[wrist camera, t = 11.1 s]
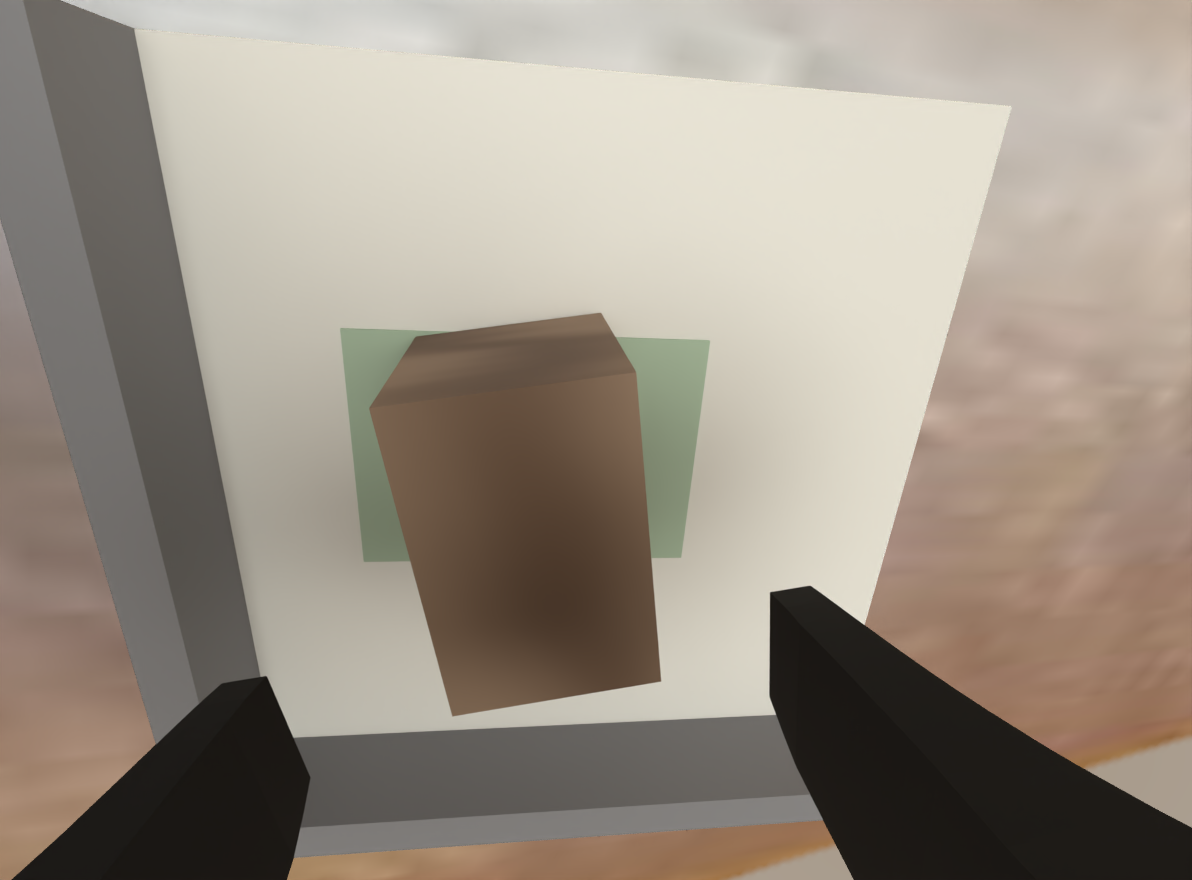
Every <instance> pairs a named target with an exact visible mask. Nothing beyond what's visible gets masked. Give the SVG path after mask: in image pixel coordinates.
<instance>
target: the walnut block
mask: <svg viewBox="0 0 1192 880" xmlns="http://www.w3.org/2000/svg"><path fill="white" fill-rule="evenodd" d="M369 411H370V414H371V418H372V422H373V425H374V429H375V433H376V436H377V440H378V444H379V448H380V451H381V455H382V459H383V462H384V466H385V470H386V473H387V477H388V481H389V485H390V488H391V492H392V496H393V499H394V503H395V507H396V510H397V514H398V518H399V521H400V525H401V529H402V533H403V536H404V540H405V544H406V547H407V551H408V555H409V558H410V562H411V566H412V569H413V573H414V577H415V581H416V584H417V588H418V592H419V595H420V599H421V603H422V606H423V610H424V614H425V618H426V621H427V625H428V629H429V632H430V636H431V640H432V643H433V647H434V651H435V654H436V658H437V662H438V666H439V669H440V673H441V677H442V680H443V684H444V688H445V691H446V695H447V699H448V703H449V706H450V710H451V714H452V717H453V716H458V715H464V714H470V713H476V712H482V711H488V710H494V709H500V708H506V707H512V706H518V705H524V704H530V703H536V702H542V701H548V700H554V699H560V698H566V697H572V696H578V695H584V694H590V693H596V692H602V691H608V690H614V689H620V688H626V687H632V686H638V685H644V684H650V683H656V682H661V671H660V659H659V646H658V634H657V622H656V609H655V597H654V585H653V572H652V560H651V548H650V535H649V523H648V511H647V498H646V486H645V473H644V461H643V449H642V436H641V424H640V412H639V399H638V387H637V375H636V371H635V369H634V367H633V366H632V364H631V362H630V361H629V359H628V357H627V356H626V354H625V352H624V351H623V349H622V347H621V346H620V344H619V342H618V340H617V339H616V337H615V335H614V334H613V332H612V330H611V329H610V327H609V325H608V324H607V322H606V320H605V319H604V317H603V315H602V314H601V313H595V314H588V315H580V316H572V317H564V318H556V319H549V320H541V321H533V322H525V323H518V324H510V325H502V326H494V327H486V328H479V329H471V330H463V331H455V332H448V333H440V334H432V335H424V336H416V337H415V338H414V340H413V341H412V343H411V345H410V346H409V348H408V349H407V351H406V352H405V354H404V355H403V357H402V358H401V360H400V361H399V363H398V364H397V366H396V368H395V369H394V371H393V372H392V374H391V375H390V377H389V378H388V380H387V381H386V383H385V384H384V386H383V387H382V389H381V391H380V392H379V394H378V395H377V397H376V398H375V400H374V401H373V403H372V404H371V406H370V407H369Z"/></svg>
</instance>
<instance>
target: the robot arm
mask: <svg viewBox="0 0 1192 880" xmlns="http://www.w3.org/2000/svg"><path fill="white" fill-rule="evenodd" d="M769 697H770V700H771V702H772V705H773V708H774V711H775V713H776V716H777V719H778V721H779V724H780V727H781V729H782V732H783V735H784V737H785V740H786V742H787V745H788V747H789V750H790V753H791V755H792V758H793V760H794V763H795V765H796V767H797V769H798V771H799V773H800V775H801V777H802V779H803V781H804V783H805V785H806V787H807V789H808V791H809V793H810V795H811V797H812V799H813V801H814V803H815V805H816V807H817V809H818V811H819V813H820V815H821V817H822V819H823V821H824V823H825V825H826V827H827V829H828V830H829V832H830V834H831V836H832V838H833V840H834V842H835V844H836V846H837V848H838V850H839V852H840V854H841V855H842V858H843V860H844V861H845V864H846V865H847V867H848V869H849V871H850V873H851V875H852V877H853V879H854V880H1192V828H1191V827H1189V826H1187V825H1185V824H1183V823H1182V822H1180V821H1178V820H1176V819H1174V818H1172V817H1170V816H1168V815H1166V814H1165V813H1163V812H1161V811H1159V810H1157V809H1155V808H1153V807H1151V806H1150V805H1148V804H1146V803H1144V802H1142V801H1141V800H1139V799H1137V798H1135V797H1133V796H1132V795H1130V794H1128V793H1126V792H1124V791H1122V790H1121V789H1119V788H1117V787H1115V786H1114V785H1112V784H1110V783H1108V782H1106V781H1105V780H1103V779H1101V778H1099V777H1097V776H1096V775H1094V774H1092V773H1090V772H1089V771H1087V770H1085V769H1083V768H1081V767H1080V766H1078V765H1076V764H1074V763H1073V762H1071V761H1069V760H1068V759H1066V758H1064V757H1062V756H1061V755H1059V754H1057V753H1056V752H1054V751H1052V750H1051V749H1049V748H1047V747H1046V746H1044V745H1042V744H1041V743H1039V742H1037V741H1036V740H1034V739H1033V738H1031V737H1029V736H1028V735H1026V734H1025V733H1023V732H1021V731H1020V730H1018V729H1017V728H1015V727H1013V726H1012V725H1010V724H1009V723H1007V722H1005V721H1004V720H1002V719H1001V718H999V717H997V716H996V715H994V714H993V713H991V712H989V711H988V710H986V709H985V708H983V707H982V706H980V705H979V704H977V703H976V702H974V701H973V700H971V699H969V698H968V697H966V696H965V695H963V694H962V693H960V692H959V691H957V690H956V689H954V688H953V687H951V686H950V685H948V684H947V683H945V682H944V681H943V680H941V679H940V678H938V677H937V676H935V675H934V674H932V673H931V672H929V671H928V670H927V669H925V668H924V667H922V666H921V665H919V664H918V663H916V662H915V661H914V660H912V659H911V658H909V657H908V656H907V655H905V654H904V653H902V652H901V651H900V650H898V649H897V648H895V647H894V646H893V645H891V644H890V643H888V642H887V641H886V640H884V639H883V638H882V637H880V636H879V635H877V634H876V633H875V632H873V631H872V630H871V629H869V628H868V627H866V626H865V625H864V624H862V623H861V622H860V621H858V620H857V619H856V618H854V617H853V616H851V615H850V614H849V613H847V612H846V611H845V610H843V609H842V608H841V607H839V606H838V605H837V604H835V603H834V602H833V601H831V600H830V599H828V598H827V597H826V596H824V595H823V594H822V593H820V592H819V591H817V590H816V589H815V588H813V587H812V586H804V587H798V588H792V589H786V590H780V591H774V592H770V666H769ZM310 778H311V777H310V775H309V773H308V770H307V768H306V766H305V763H304V761H303V759H302V756H301V754H300V752H299V749H298V747H297V745H296V742H295V740H294V738H293V736H292V733H291V731H290V729H289V726H288V724H287V722H286V719H285V717H284V715H283V712H282V710H281V708H280V705H279V703H278V701H277V698H276V696H275V694H274V691H273V689H272V687H271V684H270V682H269V680H268V678H267V676H263V677H257V678H251V679H245V680H238V681H232V682H226V683H222V684H221V685H219V686H218V687H217V688H216V689H215V690H214V691H213V692H211V693H210V694H209V695H208V696H207V697H206V698H205V699H204V700H202V701H201V702H200V703H199V704H198V705H197V706H196V707H195V708H194V709H193V710H192V711H191V712H190V713H188V714H187V715H186V716H185V717H184V718H183V719H182V720H181V721H180V722H179V723H178V724H177V725H176V726H175V727H174V728H173V729H172V730H171V731H170V732H168V733H167V734H166V735H165V736H164V737H163V738H162V739H161V740H160V741H159V742H158V743H157V744H156V745H155V746H154V747H153V748H152V749H151V750H150V751H149V752H148V753H147V754H146V755H145V756H143V757H142V758H141V759H140V760H139V761H138V762H137V763H136V764H135V765H134V766H133V767H132V768H131V769H130V770H129V771H128V772H127V773H126V774H125V775H124V776H123V777H122V778H121V779H119V780H118V781H117V782H116V783H115V784H114V785H113V786H112V787H111V788H110V789H109V790H108V791H107V792H106V793H105V794H104V795H103V796H102V797H101V798H99V799H98V800H97V801H96V802H95V803H94V804H93V805H92V806H91V807H90V808H89V809H88V810H87V811H86V812H85V813H84V814H83V815H82V816H81V817H80V818H78V819H77V820H76V821H75V822H74V823H73V824H72V825H71V826H70V827H69V828H68V829H67V830H66V831H65V832H64V833H63V834H62V835H60V836H59V837H58V838H57V839H56V840H55V841H54V842H53V843H52V844H51V845H49V846H48V847H47V848H46V849H45V850H44V851H43V852H42V853H41V854H40V855H38V856H37V857H36V858H35V859H34V860H33V861H32V862H31V863H30V864H28V865H27V866H26V867H25V868H24V869H23V870H22V871H21V872H20V873H18V874H17V875H16V876H15V877H14V878H13V879H12V880H287V877H288V874H289V871H290V868H291V865H292V862H293V858H294V854H295V850H296V846H297V841H298V837H299V832H300V828H301V824H302V819H303V814H304V809H305V804H306V799H307V794H308V789H309V783H310Z"/></svg>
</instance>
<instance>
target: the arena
mask: <svg viewBox="0 0 1192 880" xmlns="http://www.w3.org/2000/svg"><path fill="white" fill-rule="evenodd" d="M1011 108H1012V106H1004V105H992V104H981V103H970V102H958V101H947V100H936V99H924V98H913V97H902V96H890V95H879V94H868V93H857V92H845V91H834V90H823V89H811V88H800V87H789V86H777V85H766V84H755V83H744V82H732V81H721V80H710V79H698V78H687V77H676V76H664V75H653V74H642V73H630V72H619V71H608V70H597V69H585V68H574V67H563V66H551V65H540V64H529V63H517V62H506V61H495V60H483V59H472V58H461V57H450V56H438V55H427V54H416V53H404V52H393V51H382V50H370V49H359V48H348V47H337V46H325V45H314V44H303V43H291V42H280V41H269V40H257V39H246V38H235V37H223V36H212V35H201V34H190V33H178V32H167V31H156V30H144V29H134V28H131V27H128V26H126V25H123V24H121V23H118V22H115V21H113V20H110V19H108V18H105V17H102V16H100V15H97V14H95V13H92V12H89V11H87V10H84V9H81V8H79V7H76V6H74V5H71V4H68V3H66V2H63V1H61V0H0V220H1V223H2V226H3V230H4V233H5V236H6V240H7V243H8V246H9V250H10V253H11V257H12V260H13V263H14V267H15V270H16V273H17V277H18V280H19V284H20V287H21V290H22V294H23V297H24V300H25V304H26V307H27V311H28V314H29V317H30V321H31V324H32V327H33V331H34V334H35V338H36V341H37V344H38V348H39V351H40V354H41V358H42V361H43V365H44V368H45V371H46V375H47V378H48V381H49V385H50V388H51V392H52V395H53V398H54V402H55V405H56V408H57V412H58V415H59V419H60V422H61V425H62V429H63V432H64V435H65V439H66V442H67V446H68V449H69V452H70V456H71V459H72V462H73V466H74V469H75V473H76V476H77V479H78V483H79V486H80V489H81V493H82V496H83V500H84V503H85V506H86V510H87V513H88V516H89V520H90V523H91V527H92V530H93V533H94V537H95V540H96V543H97V547H98V550H99V554H100V557H101V560H102V564H103V567H104V570H105V574H106V577H107V581H108V584H109V587H110V591H111V594H112V597H113V601H114V604H115V608H116V611H117V614H118V618H119V621H120V624H121V628H122V631H123V635H124V638H125V641H126V645H127V648H128V651H129V655H130V658H131V662H132V665H133V668H134V672H135V675H136V678H137V682H138V685H139V689H140V692H141V695H142V699H143V702H144V705H145V709H146V712H147V716H148V719H149V722H150V726H151V729H152V732H153V736H154V739H155V743H156V744H157V743H158V742H159V741H160V740H161V739H162V738H163V737H164V736H165V735H166V734H167V733H168V732H170V731H171V730H172V729H173V728H174V727H175V726H176V725H177V724H178V723H179V722H180V721H181V720H182V719H183V718H184V717H185V716H186V715H187V714H188V713H190V712H191V711H192V710H193V709H194V708H195V707H196V706H197V705H198V704H199V703H200V702H201V701H202V700H204V699H205V698H206V697H207V696H208V695H209V694H210V693H211V692H213V691H214V690H215V689H216V688H217V687H218V686H219V685H221V684H222V683H226V682H232V681H238V680H245V679H251V678H257V677H263V676H267V678H268V680H269V682H270V684H271V687H272V689H273V691H274V694H275V696H276V698H277V701H278V703H279V705H280V708H281V710H282V712H283V715H284V717H285V719H286V722H287V724H288V726H289V729H290V731H291V733H292V736H293V738H294V740H295V742H296V745H297V747H298V749H299V752H300V754H301V756H302V759H303V761H304V763H305V766H306V768H307V770H308V773H309V775H310V777H311V778H310V783H309V789H308V794H307V799H306V804H305V809H304V814H303V819H302V824H301V828H300V832H299V837H298V841H297V846H296V850H295V854H294V858H297V857H311V856H325V855H339V854H353V853H368V852H382V851H396V850H410V849H424V848H438V847H452V846H466V845H480V844H494V843H508V842H523V841H537V840H551V839H565V838H579V837H593V836H607V835H621V834H635V833H649V832H663V831H678V830H692V829H706V828H720V827H734V826H748V825H762V824H776V823H790V822H804V821H819V820H823V819H822V817H821V815H820V813H819V811H818V809H817V807H816V805H815V803H814V801H813V799H812V797H811V795H810V793H809V791H808V789H807V787H806V785H805V783H804V781H803V779H802V777H801V775H800V773H799V771H798V769H797V767H796V765H795V763H794V760H793V758H792V755H791V753H790V750H789V747H788V745H787V742H786V740H785V737H784V735H783V732H782V729H781V727H780V724H779V721H778V719H777V716H776V713H775V711H774V708H773V705H772V702H771V700H770V697H769V666H770V592H774V591H780V590H786V589H792V588H798V587H804V586H812V587H813V588H815V589H816V590H817V591H819V592H820V593H822V594H823V595H824V596H826V597H827V598H828V599H830V600H831V601H833V602H834V603H835V604H837V605H838V606H839V607H841V608H842V609H843V610H845V611H846V612H847V613H849V614H850V615H851V616H853V617H854V618H856V619H857V620H858V621H860V622H861V623H862V624H864V625H865V621H866V618H867V614H868V611H869V607H870V604H871V600H872V597H873V593H874V590H875V586H876V583H877V579H878V576H879V572H880V569H881V565H882V562H883V558H884V555H885V551H886V548H887V544H888V540H889V537H890V533H891V530H892V526H893V523H894V519H895V516H896V512H897V509H898V505H899V502H900V498H901V495H902V491H903V488H904V484H905V481H906V477H907V474H908V470H909V467H910V463H911V460H912V456H913V453H914V449H915V445H916V442H917V438H918V435H919V431H920V428H921V424H922V421H923V417H924V414H925V410H926V407H927V403H928V400H929V396H930V393H931V389H932V386H933V382H934V379H935V375H936V372H937V368H938V365H939V361H940V357H941V354H942V350H943V347H944V343H945V340H946V336H947V333H948V329H949V326H950V322H951V319H952V315H953V312H954V308H955V305H956V301H957V298H958V294H959V291H960V287H961V284H962V280H963V277H964V273H965V269H966V266H967V262H968V259H969V255H970V252H971V248H972V245H973V241H974V238H975V234H976V231H977V227H978V224H979V220H980V217H981V213H982V210H983V206H984V203H985V199H986V196H987V192H988V189H989V185H990V181H991V178H992V174H993V171H994V167H995V164H996V160H997V157H998V153H999V150H1000V146H1001V143H1002V139H1003V136H1004V132H1005V129H1006V125H1007V122H1008V118H1009V115H1010V111H1011ZM595 313H601V314H602V315H603V317H604V319H605V320H606V322H607V324H608V325H609V327H610V329H611V330H612V332H613V334H614V335H615V337H616V339H617V340H618V342H619V344H620V346H621V347H622V349H623V351H624V352H625V354H626V356H627V357H628V359H629V361H630V362H631V364H632V366H633V367H634V369H635V371H636V375H637V387H638V399H639V412H640V424H641V436H642V449H643V461H644V473H645V486H646V498H647V511H648V523H649V535H650V548H651V560H652V572H653V585H654V597H655V609H656V622H657V634H658V646H659V659H660V671H661V682H656V683H650V684H644V685H638V686H632V687H626V688H620V689H614V690H608V691H602V692H596V693H590V694H584V695H578V696H572V697H566V698H560V699H554V700H548V701H542V702H536V703H530V704H524V705H518V706H512V707H506V708H500V709H494V710H488V711H482V712H476V713H470V714H464V715H458V716H453V717H452V714H451V710H450V706H449V703H448V699H447V695H446V691H445V688H444V684H443V680H442V677H441V673H440V669H439V666H438V662H437V658H436V654H435V651H434V647H433V643H432V640H431V636H430V632H429V629H428V625H427V621H426V618H425V614H424V610H423V606H422V603H421V599H420V595H419V592H418V588H417V584H416V581H415V577H414V573H413V569H412V566H411V562H410V558H409V555H408V551H407V547H406V544H405V540H404V536H403V533H402V529H401V525H400V521H399V518H398V514H397V510H396V507H395V503H394V499H393V496H392V492H391V488H390V485H389V481H388V477H387V473H386V470H385V466H384V462H383V459H382V455H381V451H380V448H379V444H378V440H377V436H376V433H375V429H374V425H373V422H372V418H371V414H370V411H369V407H370V406H371V404H372V403H373V401H374V400H375V398H376V397H377V395H378V394H379V392H380V391H381V389H382V387H383V386H384V384H385V383H386V381H387V380H388V378H389V377H390V375H391V374H392V372H393V371H394V369H395V368H396V366H397V364H398V363H399V361H400V360H401V358H402V357H403V355H404V354H405V352H406V351H407V349H408V348H409V346H410V345H411V343H412V341H413V340H414V338H415V337H416V336H424V335H432V334H440V333H448V332H455V331H463V330H471V329H479V328H486V327H494V326H502V325H510V324H518V323H525V322H533V321H541V320H549V319H556V318H564V317H572V316H580V315H588V314H595Z"/></svg>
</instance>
